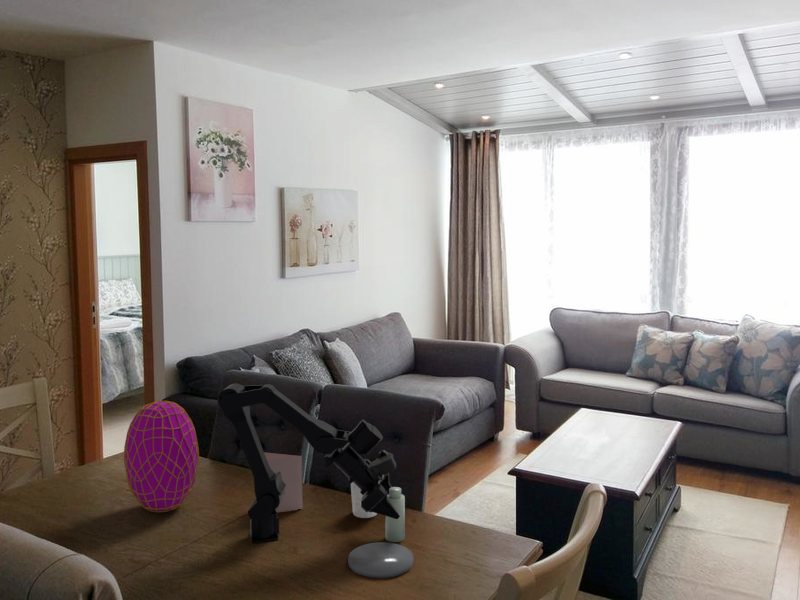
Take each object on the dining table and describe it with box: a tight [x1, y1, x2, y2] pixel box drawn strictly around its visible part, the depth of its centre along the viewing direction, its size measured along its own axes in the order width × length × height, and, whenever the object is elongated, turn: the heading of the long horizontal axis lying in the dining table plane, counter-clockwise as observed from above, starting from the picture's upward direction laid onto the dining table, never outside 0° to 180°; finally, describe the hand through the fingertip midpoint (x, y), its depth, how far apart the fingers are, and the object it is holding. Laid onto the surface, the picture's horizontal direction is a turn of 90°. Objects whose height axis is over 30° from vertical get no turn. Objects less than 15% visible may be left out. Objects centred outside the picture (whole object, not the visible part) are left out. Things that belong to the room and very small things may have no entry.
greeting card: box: [264, 452, 303, 513], centre depth 184 cm, size 11×7×15 cm, turn 74°
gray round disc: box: [347, 541, 414, 579], centre depth 155 cm, size 15×15×1 cm
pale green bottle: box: [384, 486, 406, 543], centre depth 167 cm, size 5×5×12 cm
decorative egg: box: [123, 400, 200, 513], centre depth 184 cm, size 19×19×30 cm
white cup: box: [350, 482, 378, 519], centre depth 182 cm, size 8×8×10 cm
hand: (398, 510), depth 167 cm, fingers open, 9 cm apart
